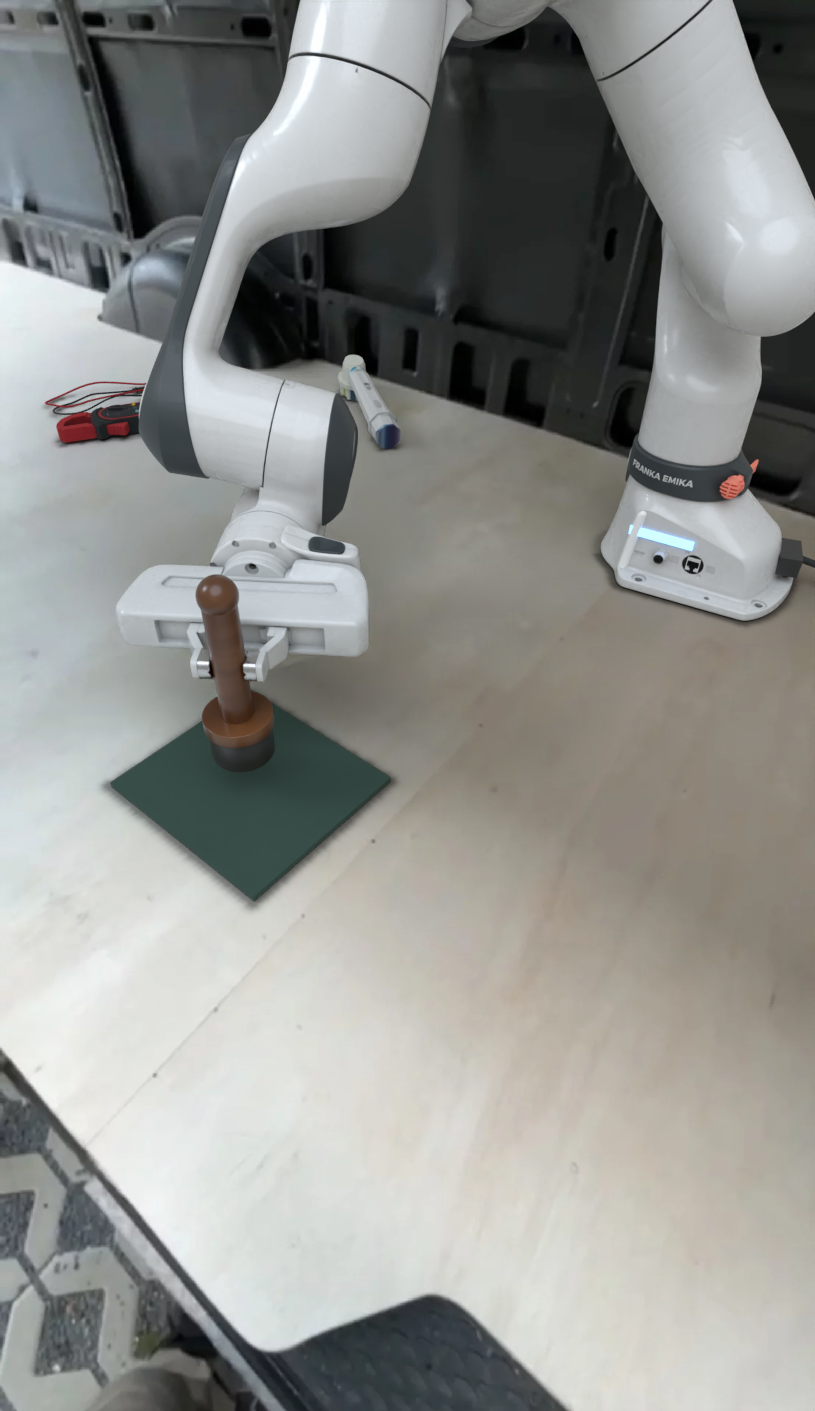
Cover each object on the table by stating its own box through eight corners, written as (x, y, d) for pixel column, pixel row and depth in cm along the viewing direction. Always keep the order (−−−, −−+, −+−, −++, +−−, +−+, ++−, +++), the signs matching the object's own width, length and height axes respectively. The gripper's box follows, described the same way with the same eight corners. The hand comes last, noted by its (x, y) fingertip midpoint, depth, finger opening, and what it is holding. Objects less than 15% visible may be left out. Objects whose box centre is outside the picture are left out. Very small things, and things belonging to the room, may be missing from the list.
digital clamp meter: (221, 395, 122) (51, 420, 114) (225, 424, 125) (59, 450, 117) (186, 347, 137) (33, 366, 129) (190, 374, 140) (41, 394, 132)
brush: (291, 747, 66) (272, 575, 55) (240, 785, 63) (209, 611, 52) (246, 717, 69) (218, 547, 57) (195, 752, 66) (155, 580, 54)
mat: (390, 781, 69) (390, 777, 69) (254, 901, 60) (253, 897, 59) (250, 693, 77) (249, 688, 77) (111, 786, 68) (109, 782, 68)
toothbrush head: (371, 425, 115) (334, 346, 131) (371, 465, 120) (334, 384, 136) (406, 422, 116) (364, 343, 132) (404, 462, 122) (364, 381, 137)
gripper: (137, 535, 67) (79, 633, 57) (376, 546, 67) (360, 647, 57) (152, 596, 72) (100, 698, 62) (377, 607, 71) (362, 711, 61)
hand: (227, 673), depth 59 cm, fingers closed on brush, 2 cm apart
